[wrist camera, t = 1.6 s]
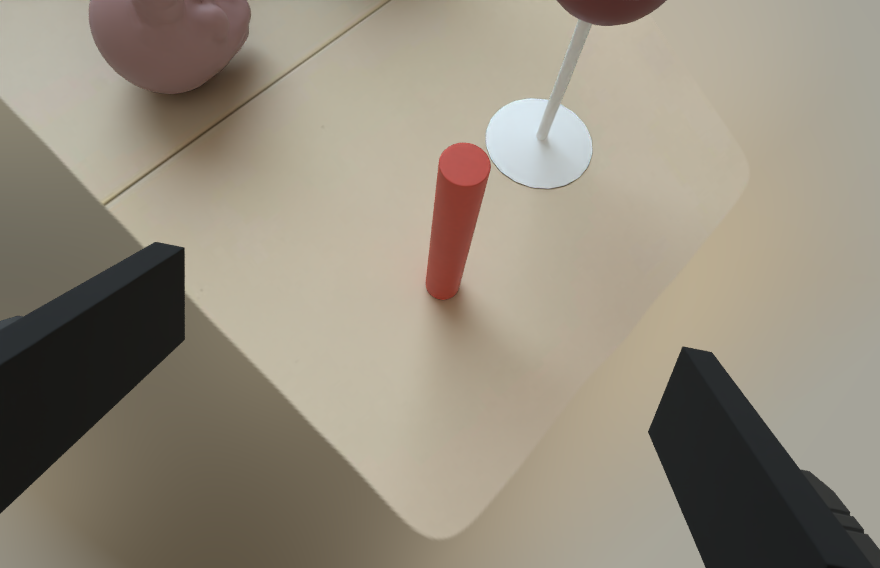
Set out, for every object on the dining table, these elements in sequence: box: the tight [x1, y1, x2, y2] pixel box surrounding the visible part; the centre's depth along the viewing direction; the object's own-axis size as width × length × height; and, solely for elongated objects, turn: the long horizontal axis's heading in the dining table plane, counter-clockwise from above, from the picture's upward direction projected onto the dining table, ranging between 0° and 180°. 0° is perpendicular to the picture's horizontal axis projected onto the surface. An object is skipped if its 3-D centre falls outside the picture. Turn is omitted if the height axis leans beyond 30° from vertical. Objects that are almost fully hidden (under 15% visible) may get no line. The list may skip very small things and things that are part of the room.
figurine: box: [89, 0, 251, 94], centre depth 39 cm, size 9×11×12 cm
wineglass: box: [486, 0, 666, 189], centre depth 34 cm, size 9×10×23 cm
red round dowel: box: [426, 143, 491, 300], centre depth 32 cm, size 2×2×15 cm
